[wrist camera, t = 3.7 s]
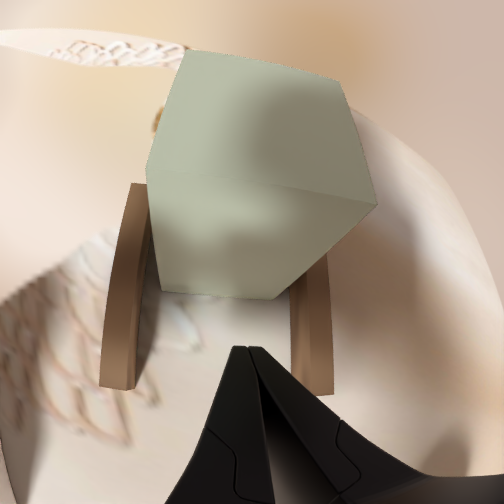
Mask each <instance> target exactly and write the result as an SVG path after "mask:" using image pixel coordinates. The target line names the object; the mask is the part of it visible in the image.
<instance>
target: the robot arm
mask: <svg viewBox="0 0 504 504" xmlns="http://www.w3.org/2000/svg"><path fill="white" fill-rule="evenodd" d="M165 504H504V474H499V475H488V476H470V477H437V476H431V475H427V474H424V473H421V472H419V471H417V470H415V469H413V468H411V467H410V466H408V465H406V464H405V463H403V462H401V461H400V460H398V459H396V458H395V457H393V456H392V455H390V454H388V453H387V452H385V451H384V450H382V449H381V448H379V447H378V446H376V445H375V444H373V443H372V442H370V441H369V440H367V439H366V438H365V437H363V436H362V435H361V434H359V433H358V432H357V431H356V430H354V429H353V428H352V427H351V426H349V425H348V424H347V423H346V422H345V421H344V420H340V417H339V416H338V415H336V414H335V413H334V412H333V411H332V410H331V409H329V408H328V407H327V406H326V405H325V404H324V403H323V402H321V401H320V400H319V399H318V398H317V397H316V396H315V395H314V394H312V393H311V392H310V391H309V390H308V389H307V388H306V387H305V386H304V385H302V384H301V383H300V382H299V381H298V380H297V379H296V378H295V377H294V376H293V375H291V374H290V373H289V372H288V371H287V370H286V369H285V368H284V367H283V366H282V365H281V364H280V363H279V362H278V361H276V360H275V359H274V358H273V357H272V356H271V355H270V354H269V353H268V352H267V351H266V350H265V349H264V348H263V347H258V346H249V347H246V346H233V347H232V349H231V352H230V354H229V357H228V360H227V363H226V366H225V369H224V372H223V375H222V377H221V380H220V383H219V386H218V389H217V392H216V394H215V397H214V400H213V403H212V406H211V409H210V411H209V414H208V417H207V420H206V423H205V426H204V428H203V431H202V433H201V436H200V439H199V441H198V444H197V446H196V449H195V451H194V453H193V456H192V458H191V459H190V461H189V463H188V465H187V467H186V469H185V471H184V472H183V474H182V476H181V477H180V479H179V481H178V482H177V484H176V486H175V487H174V489H173V491H172V492H171V494H170V495H169V497H168V499H167V500H166V502H165Z"/></svg>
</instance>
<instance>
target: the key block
mask: <svg viewBox="0 0 504 504" xmlns="http://www.w3.org/2000/svg"><path fill="white" fill-rule="evenodd" d="M145 169H146V181H147V191H148V200H149V209H150V218H151V226H152V233H153V241H154V247H155V254H156V261H157V267H158V273H159V279H160V285H161V290H162V291H167V292H177V293H187V294H198V295H209V296H221V297H233V298H247V299H261V300H273V299H275V298H276V297H277V296H278V295H279V294H280V293H282V292H283V291H284V290H285V289H286V288H287V287H288V286H290V285H291V284H292V283H293V282H294V281H295V280H296V279H298V278H299V277H300V276H301V275H302V274H303V273H304V272H305V271H307V270H308V269H309V268H310V267H311V266H312V265H313V264H314V263H315V262H317V261H318V260H319V259H320V258H321V257H322V256H323V255H324V254H325V253H327V252H328V251H329V250H330V249H331V248H332V247H333V246H334V245H335V244H336V243H337V242H339V241H340V240H341V239H342V238H343V237H344V236H345V235H346V234H347V233H348V232H349V231H350V230H351V229H352V228H354V227H355V226H356V225H357V224H358V223H359V222H360V221H361V220H362V219H363V218H364V217H365V216H366V215H367V214H368V213H369V212H370V211H371V210H372V209H373V208H375V207H376V206H377V201H376V197H375V193H374V189H373V185H372V181H371V177H370V173H369V170H368V166H367V162H366V159H365V156H364V152H363V149H362V145H361V142H360V139H359V136H358V133H357V130H356V127H355V123H354V121H353V118H352V115H351V112H350V109H349V106H348V103H347V101H346V98H345V95H344V92H343V90H342V87H341V85H340V82H339V81H336V80H333V79H330V78H327V77H323V76H320V75H317V74H314V73H310V72H306V71H303V70H299V69H296V68H292V67H288V66H284V65H279V64H275V63H271V62H266V61H261V60H256V59H251V58H246V57H240V56H234V55H228V54H221V53H214V52H206V51H197V50H186V52H185V54H184V57H183V59H182V62H181V64H180V67H179V69H178V72H177V74H176V77H175V80H174V82H173V85H172V88H171V90H170V93H169V96H168V98H167V101H166V104H165V107H164V110H163V113H162V116H161V119H160V122H159V125H158V128H157V131H156V134H155V137H154V141H153V144H152V147H151V151H150V154H149V158H148V161H147V165H146V168H145Z"/></svg>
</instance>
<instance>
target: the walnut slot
mask: <svg viewBox="0 0 504 504" xmlns="http://www.w3.org/2000/svg"><path fill="white" fill-rule="evenodd" d="M151 231H152V226H151V218H150V209H149V200H148V191H147V184H137V183H131V187H130V191H129V195H128V198H127V202H126V206H125V210H124V215H123V219H122V223H121V227H120V232H119V236H118V241H117V246H116V251H115V256H114V261H113V267H112V272H111V278H110V284H109V291H108V297H107V305H106V312H105V320H104V329H103V338H102V349H101V362H100V379H99V386H100V387H106V388H112V389H118V390H125V391H127V390H131V389H135V372H136V355H137V341H138V330H139V319H140V309H141V300H142V292H143V284H144V276H145V269H146V262H147V256H148V249H149V243H150V237H151ZM289 292H290V329H291V375H293V376H294V377H295V378H296V379H297V380H298V381H299V382H300V383H301V384H302V385H304V386H305V387H306V388H307V389H308V390H309V391H310V392H311V393H312V394H314V395H315V396H324V395H334V365H333V339H332V320H331V304H330V290H329V278H328V266H327V256H326V253H325V254H324V255H323V256H322V257H321V258H320V259H319V260H318V261H317V262H315V263H314V264H313V265H312V266H311V267H310V268H309V269H308V270H307V271H305V272H304V273H303V274H302V275H301V276H300V277H299V278H298V279H296V280H295V281H294V282H293V283H292V284H291V285H290V286H289Z"/></svg>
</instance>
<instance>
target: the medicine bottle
mask: <svg viewBox="0 0 504 504" xmlns="http://www.w3.org/2000/svg"><path fill="white" fill-rule="evenodd" d="M0 504H17V503H16V500H15V497H14V494H13V491H12V487H11V484H10V480H9V477H8V473H7V469H6V465H5V461H4V456H3V451H2V446H1V441H0Z"/></svg>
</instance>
